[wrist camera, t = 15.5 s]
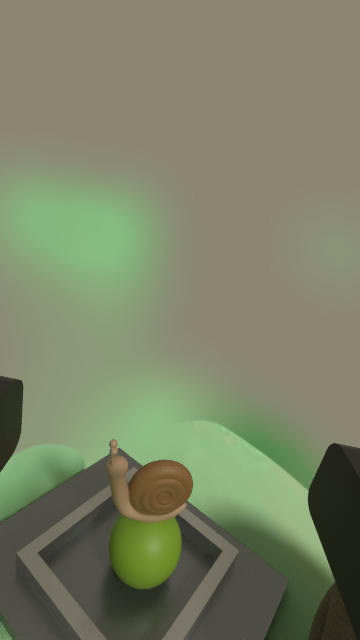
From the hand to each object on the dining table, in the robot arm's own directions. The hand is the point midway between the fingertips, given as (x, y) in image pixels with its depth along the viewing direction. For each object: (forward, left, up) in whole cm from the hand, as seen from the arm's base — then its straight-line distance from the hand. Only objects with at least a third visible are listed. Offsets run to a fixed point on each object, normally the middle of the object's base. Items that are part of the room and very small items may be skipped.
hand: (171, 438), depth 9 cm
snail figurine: (-6, +9, -21) cm, 24 cm away
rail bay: (-6, +9, -22) cm, 25 cm away
